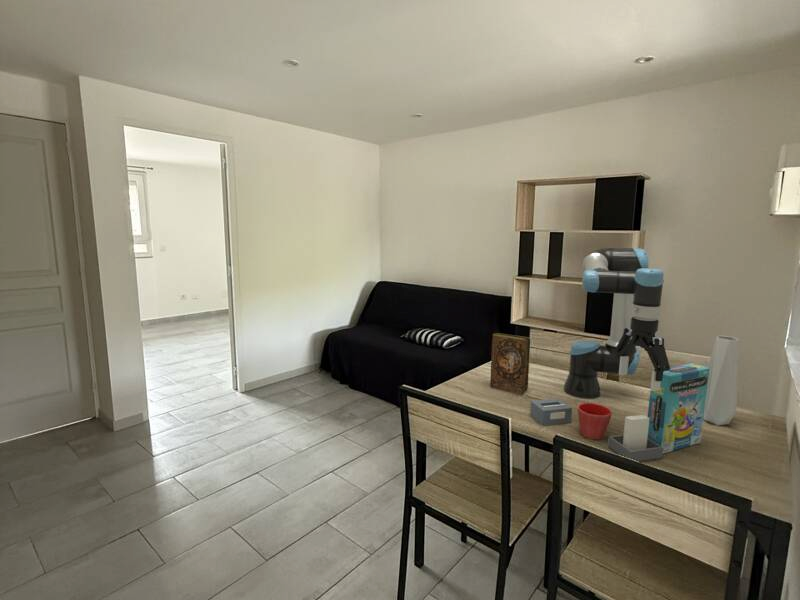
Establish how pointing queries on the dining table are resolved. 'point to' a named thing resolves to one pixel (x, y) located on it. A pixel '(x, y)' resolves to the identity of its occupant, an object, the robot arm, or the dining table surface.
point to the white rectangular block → (636, 432)
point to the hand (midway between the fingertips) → (638, 382)
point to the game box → (678, 407)
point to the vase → (722, 381)
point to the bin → (642, 455)
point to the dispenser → (551, 411)
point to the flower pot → (593, 420)
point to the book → (510, 363)
